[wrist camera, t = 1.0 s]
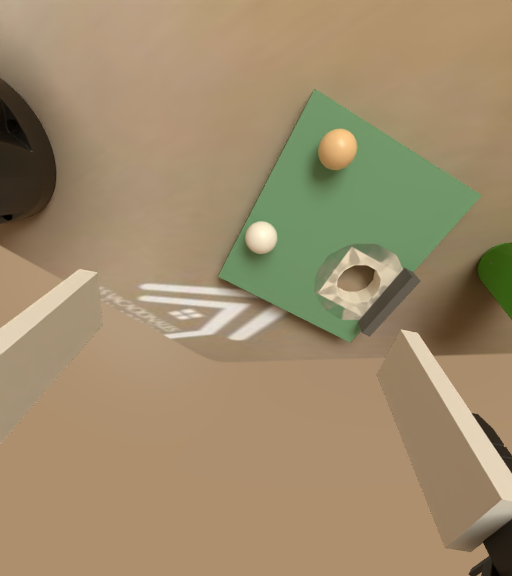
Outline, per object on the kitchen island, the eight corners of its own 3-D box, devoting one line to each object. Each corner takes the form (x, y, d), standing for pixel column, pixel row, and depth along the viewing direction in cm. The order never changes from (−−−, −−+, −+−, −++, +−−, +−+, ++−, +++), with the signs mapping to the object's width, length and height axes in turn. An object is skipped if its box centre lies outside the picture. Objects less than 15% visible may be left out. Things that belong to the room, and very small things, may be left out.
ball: (241, 238, 31) (237, 249, 28) (255, 211, 30) (252, 220, 27) (268, 252, 32) (266, 264, 29) (283, 226, 30) (283, 236, 28)
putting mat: (222, 267, 36) (213, 285, 32) (312, 92, 27) (317, 85, 23) (351, 332, 39) (358, 357, 35) (472, 194, 30) (503, 204, 25)
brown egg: (309, 156, 27) (312, 160, 24) (329, 121, 26) (335, 120, 23) (339, 174, 28) (345, 179, 25) (360, 140, 26) (369, 141, 23)
